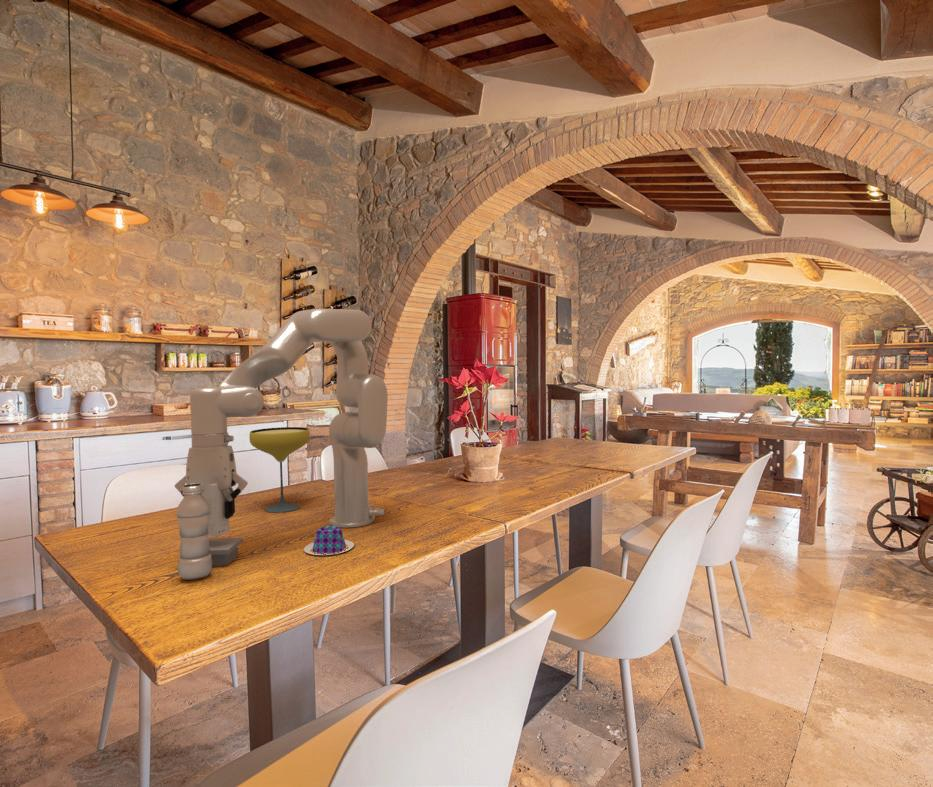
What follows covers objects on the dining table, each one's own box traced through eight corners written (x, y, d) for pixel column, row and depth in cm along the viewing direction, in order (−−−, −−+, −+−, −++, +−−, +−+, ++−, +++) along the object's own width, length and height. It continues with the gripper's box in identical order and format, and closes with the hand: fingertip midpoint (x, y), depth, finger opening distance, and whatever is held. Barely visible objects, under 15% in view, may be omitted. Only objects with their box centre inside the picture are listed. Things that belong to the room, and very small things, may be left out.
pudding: (358, 541, 141) (357, 521, 141) (348, 557, 129) (348, 535, 129) (311, 542, 141) (310, 522, 141) (297, 558, 129) (297, 536, 129)
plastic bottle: (185, 572, 121) (182, 482, 120) (217, 571, 121) (214, 481, 120) (172, 584, 114) (168, 489, 113) (206, 582, 115) (202, 487, 114)
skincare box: (230, 531, 128) (228, 480, 128) (216, 537, 124) (214, 484, 124) (209, 529, 130) (207, 479, 130) (195, 534, 126) (193, 483, 126)
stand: (243, 553, 132) (242, 537, 132) (228, 567, 123) (228, 549, 123) (201, 555, 132) (200, 538, 132) (183, 568, 123) (182, 551, 123)
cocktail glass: (320, 509, 173) (317, 430, 172) (260, 519, 163) (257, 435, 161) (301, 498, 188) (299, 425, 186) (245, 507, 177) (243, 430, 176)
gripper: (253, 438, 130) (256, 512, 131) (179, 439, 130) (181, 514, 131) (242, 442, 123) (244, 521, 124) (162, 444, 122) (166, 523, 123)
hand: (212, 517), depth 127 cm, fingers closed on skincare box, 7 cm apart
